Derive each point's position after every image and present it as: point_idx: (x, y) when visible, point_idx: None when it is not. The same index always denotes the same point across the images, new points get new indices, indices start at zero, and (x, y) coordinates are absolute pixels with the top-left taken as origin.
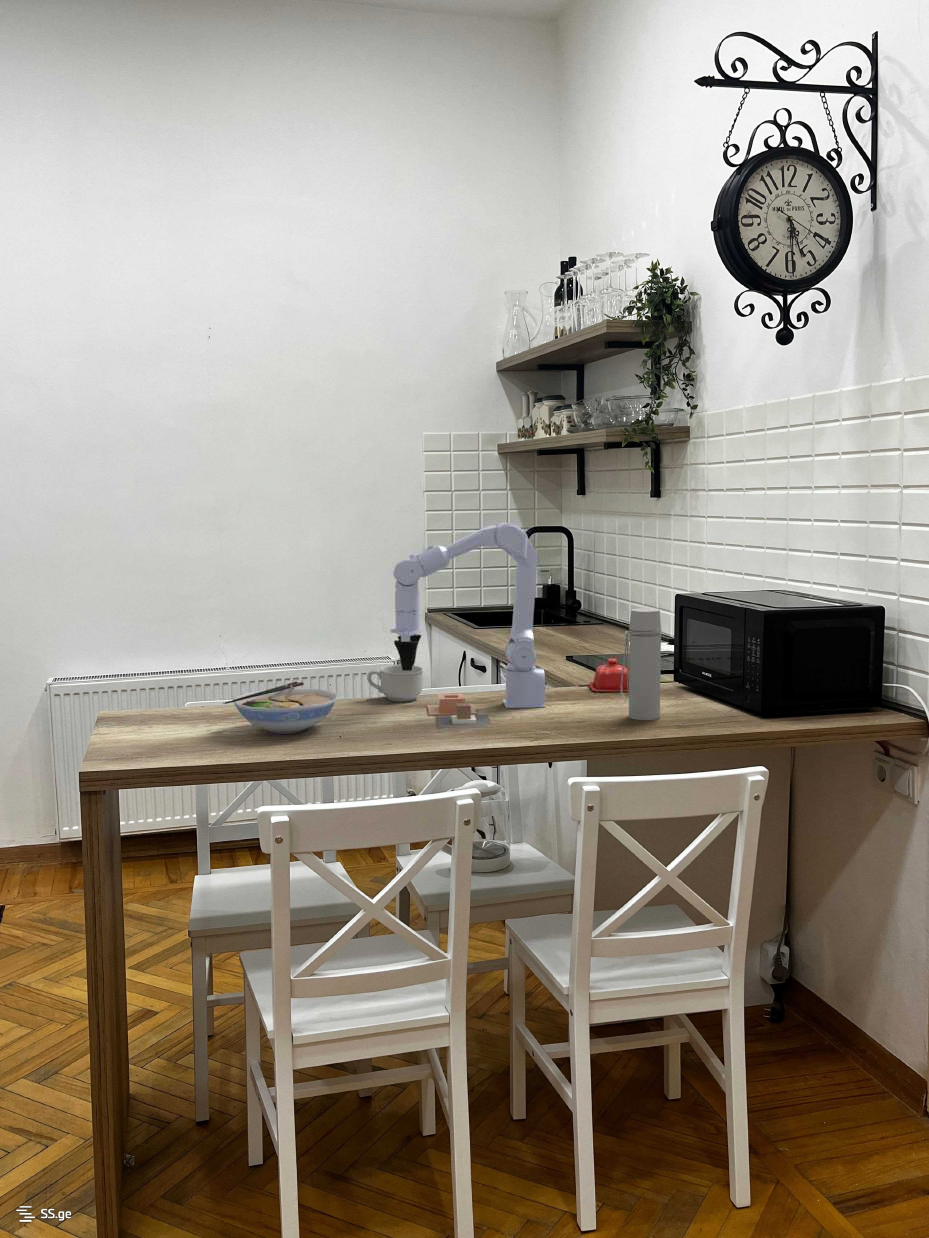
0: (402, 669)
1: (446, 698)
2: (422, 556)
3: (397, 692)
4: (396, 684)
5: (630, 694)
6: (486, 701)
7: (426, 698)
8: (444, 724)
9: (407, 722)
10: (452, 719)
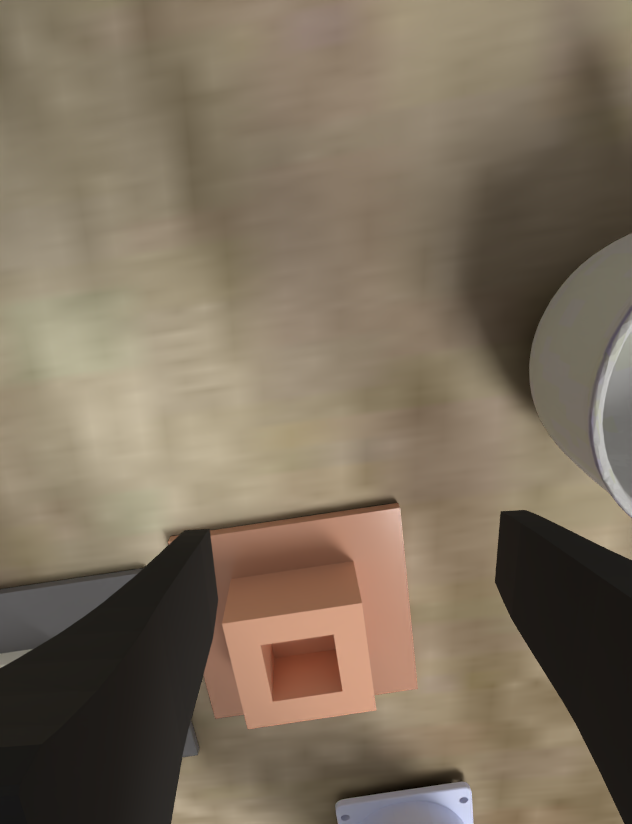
0: (181, 533)
1: (249, 653)
2: None
3: (536, 349)
4: (561, 354)
5: None
6: (508, 718)
7: None
8: None
9: (23, 455)
10: (6, 663)
